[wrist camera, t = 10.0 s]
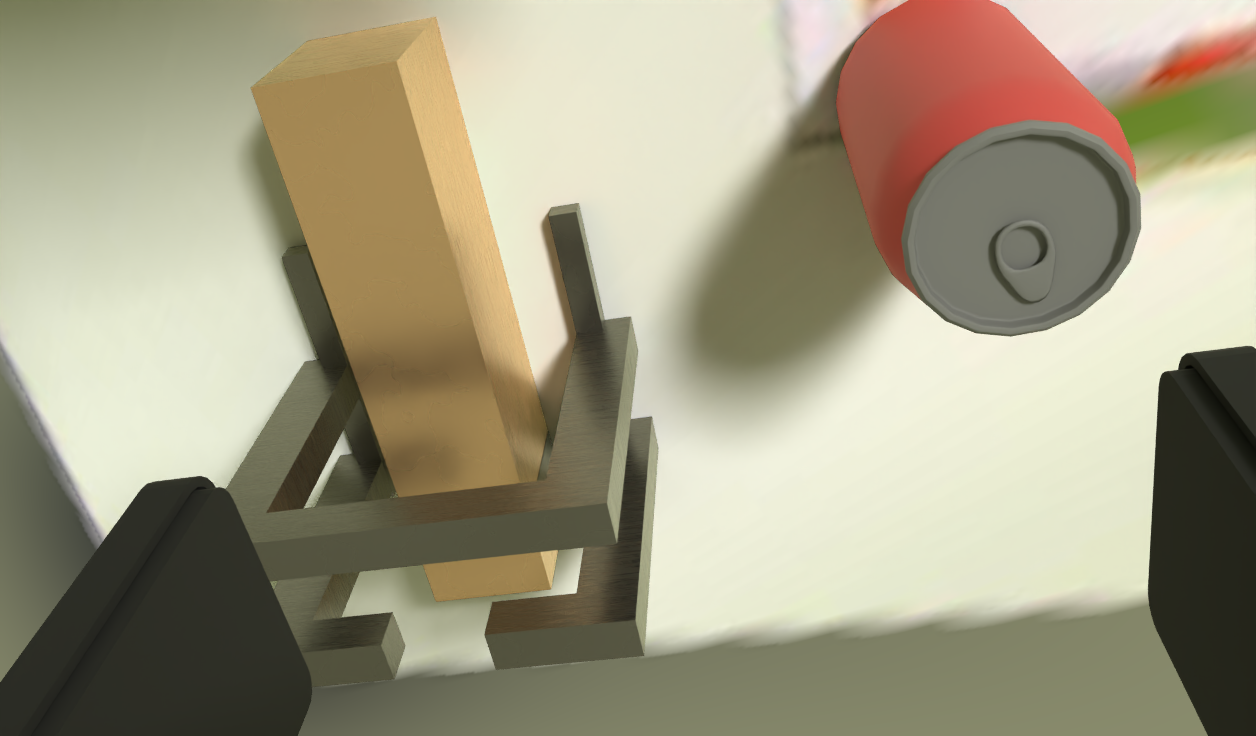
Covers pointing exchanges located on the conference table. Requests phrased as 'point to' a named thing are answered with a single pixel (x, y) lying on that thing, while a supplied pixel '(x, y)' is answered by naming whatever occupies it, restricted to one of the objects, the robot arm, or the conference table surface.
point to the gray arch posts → (457, 500)
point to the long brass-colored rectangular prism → (412, 273)
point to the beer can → (986, 167)
